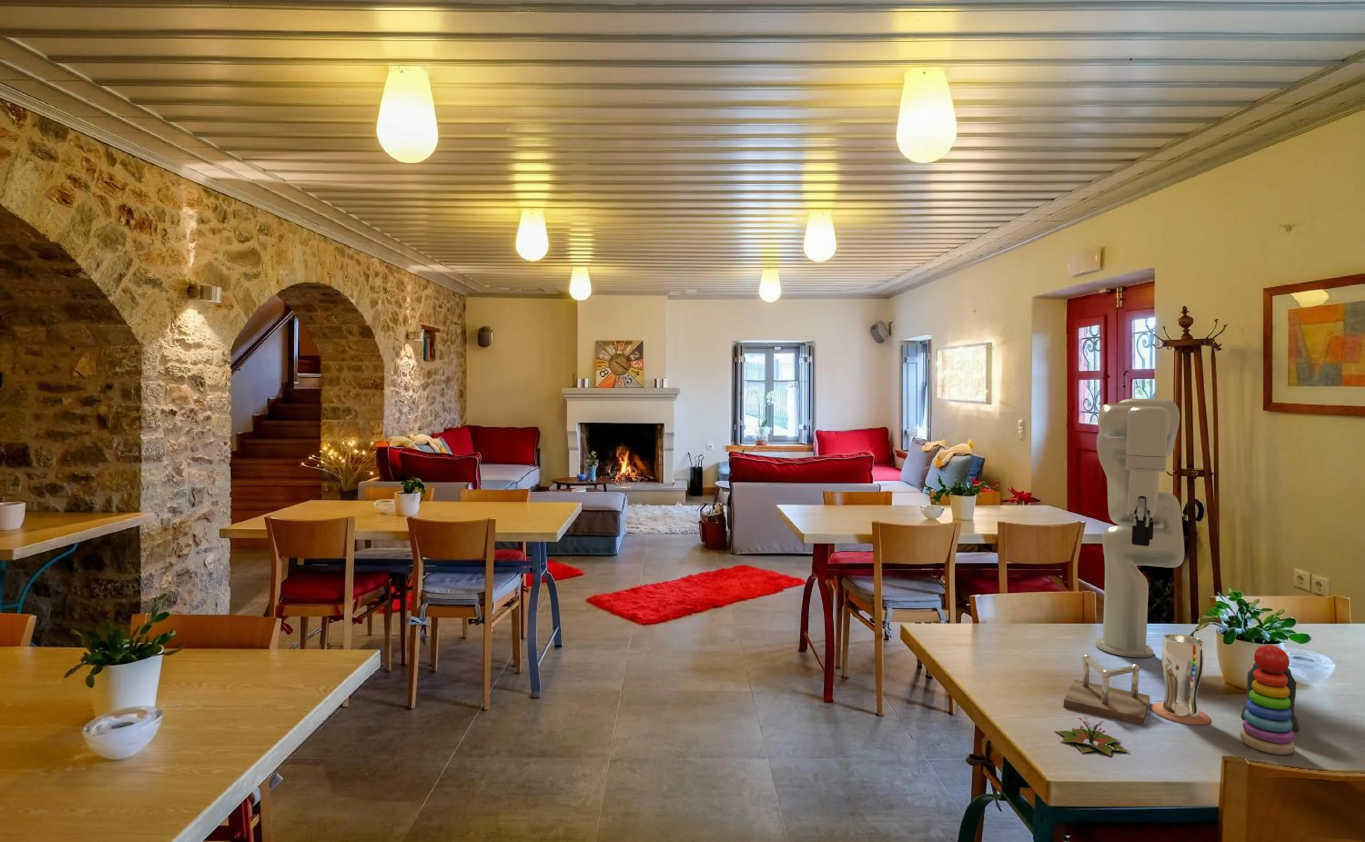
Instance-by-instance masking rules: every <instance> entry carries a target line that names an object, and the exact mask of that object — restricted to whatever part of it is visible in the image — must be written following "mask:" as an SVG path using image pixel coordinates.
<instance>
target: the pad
mask: <svg viewBox="0 0 1365 842" xmlns="http://www.w3.org/2000/svg"><path fill="white" fill-rule="evenodd" d="M1163 703H1164V702H1157V703H1153V704H1151V706H1150V710H1151V712H1153V713H1154V714H1155V715H1157V716H1159V717H1160V718H1164V719H1165V720H1168V721H1172V722H1174V723H1175V722H1176V723H1180V724H1185V725H1193V726H1204V725H1208V724H1210V723H1211V717H1210V716H1209V715H1208V714H1207V713H1205V712H1204V711H1202V710H1200V709H1198V713H1199V716H1198V717H1197V718H1193V719H1189V718H1181V717H1177V716H1174V715H1171V714H1168V713H1167V712H1165V711H1164V710H1163Z"/></svg>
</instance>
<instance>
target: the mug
mask: <svg viewBox="0 0 1365 842" xmlns="http://www.w3.org/2000/svg"><path fill="white" fill-rule="evenodd" d="M1256 669H1259V667H1258V666H1257V664H1256V663H1255V662H1254V663H1253V665H1252V668H1251V669H1249V671H1248V672H1247V680H1246V688H1247V695H1246V696H1247V697H1246V702H1247V701H1248V700H1250V698H1249V693H1250V691H1251V690H1253V688H1252V682H1253V681H1254V680H1256V679H1255V678H1254V676H1253V672H1254V671H1255V670H1256ZM1282 673H1283V674H1285V675H1286V676H1287V678H1288V683H1287V684H1286V686H1287V687H1288V688H1289V690H1290V695H1289V696H1288V698H1289V699H1290V702H1291V705H1290V707H1289V709H1290V711H1291V714H1292V715H1291V717H1290V720H1291V722H1292V729H1291V730H1292V731H1293V733H1294V734H1295V733H1298V732H1299V731H1300V727H1299V723H1298V719H1297V718H1296V715H1295V701H1296V697H1297V693H1296V692H1297V681H1296V680H1295V678H1294V677H1293V675H1292V670H1291V669H1290V668H1289V667H1288V668H1287V670H1285V671H1284V672H1282ZM1246 710H1247V707H1246V704H1245V705H1244V707H1243V709H1242V711H1241V714H1240V718H1241V720H1242V721H1243V722H1244V721H1245V720H1246V719H1245V717H1244V713H1245V711H1246Z"/></svg>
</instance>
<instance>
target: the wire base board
mask: <svg viewBox="0 0 1365 842" xmlns="http://www.w3.org/2000/svg"><path fill="white" fill-rule="evenodd" d="M1150 699H1151V698H1150V695H1149V694H1144V693H1139V692H1138V698H1133V697H1131V691H1130V690H1125V689H1120V688H1116V687H1111V686H1109V697H1108V705H1104V704H1102V703H1101V701H1102V684H1098V683H1092V682H1089V687H1088V688H1086V687H1083V680H1080V679H1079V680H1078V679H1074V681H1073V682H1072V684H1071V686H1070V688H1069V689H1068V692H1067V693H1066V695H1065V697H1064V699H1063V707H1064V708H1067V709H1072V710H1076V711H1080V712H1084V713H1088V714H1093V713H1094V714H1093V715H1097V714H1099V715H1098V716H1101V715H1103V716H1102V717H1105V716H1107V717H1106V718H1110V717H1112V718H1111V719H1114V718H1117V719H1116V720H1118V719H1120V720H1119V721H1123V720H1124V722H1128V723H1131V724H1135V725H1141V726H1145V722H1146V718H1147V714H1148V710H1149V706H1150Z"/></svg>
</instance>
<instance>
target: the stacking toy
mask: <svg viewBox="0 0 1365 842" xmlns="http://www.w3.org/2000/svg"><path fill="white" fill-rule="evenodd" d="M1253 655H1254V656H1253V659H1254V663H1256V664H1257V666H1258V667H1259V669H1256V670H1255V671H1254V672H1253V676H1254V678H1255V679H1256V680H1254V681H1253V682H1252V688H1253V690H1251V691H1250V693H1249V698H1250V700H1248V701H1247V700H1246V703H1245V705H1246V707H1247V710H1246V711H1245V713H1244V717H1245V719H1246V720H1245V721H1244V720H1243V722H1242V728H1243V729H1242V730H1241V731H1240V735H1239V736H1240V739H1241V740H1242V742H1243V743H1244V745H1246V746H1248V747H1250V748H1252V749H1255V750H1257V751H1260V752H1263V753H1267V754H1272V755H1280V756H1281V755H1283V756H1284V755H1290V754H1292V753H1294V751H1295V750H1296V745H1295V743H1294V740H1295V736H1296V735H1295V733H1293V731H1292V730H1291V729H1292V722H1291V720H1290V717H1291V715H1292V714H1291V711H1290V709H1289V707H1290V705H1291V702H1290V699H1289V698H1288V696H1289V695H1290V690H1289V688H1288V687H1287V686H1286V684H1287V683H1288V678H1287V676H1286V675H1285V674H1283V673H1282V672H1284V671H1285V670H1287V668H1289V666H1290V659H1289V658H1290V657H1289V656H1288V654H1287V653H1286V651H1285V650H1283V648H1281V647H1279V646H1276V645H1271V644H1265V645H1261V646H1259V647H1258V648H1257V649H1256V650H1255V652H1254V654H1253Z"/></svg>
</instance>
